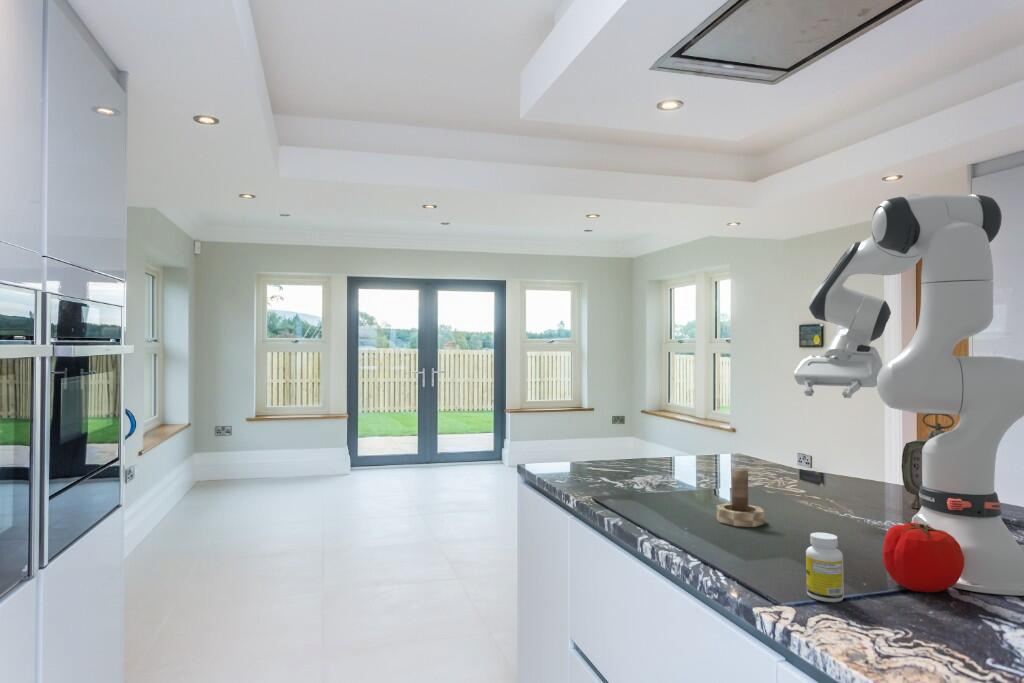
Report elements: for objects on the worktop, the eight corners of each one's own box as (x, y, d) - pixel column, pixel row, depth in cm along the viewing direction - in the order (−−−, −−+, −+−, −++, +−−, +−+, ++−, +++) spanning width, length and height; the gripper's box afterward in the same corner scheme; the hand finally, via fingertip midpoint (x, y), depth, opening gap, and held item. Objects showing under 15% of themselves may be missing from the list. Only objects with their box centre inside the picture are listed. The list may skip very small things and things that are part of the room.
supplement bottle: (811, 588, 105) (810, 529, 106) (847, 596, 102) (846, 535, 102) (802, 597, 101) (801, 536, 101) (839, 606, 98) (838, 542, 98)
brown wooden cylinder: (749, 523, 147) (749, 471, 147) (733, 522, 147) (733, 471, 148) (746, 519, 150) (746, 469, 150) (731, 518, 151) (730, 468, 151)
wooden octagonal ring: (766, 527, 143) (766, 514, 143) (720, 525, 145) (720, 512, 145) (758, 516, 153) (758, 504, 153) (715, 514, 155) (715, 502, 155)
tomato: (882, 572, 113) (882, 510, 113) (961, 585, 107) (960, 519, 107) (882, 594, 103) (881, 525, 103) (968, 608, 97) (967, 535, 97)
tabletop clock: (901, 507, 163) (900, 411, 164) (912, 502, 169) (911, 409, 170) (969, 518, 153) (968, 415, 153) (978, 512, 159) (977, 413, 159)
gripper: (800, 348, 170) (782, 385, 164) (882, 347, 154) (865, 388, 148) (808, 364, 173) (790, 401, 167) (889, 365, 157) (873, 406, 151)
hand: (826, 395), depth 157 cm, fingers open, 8 cm apart
